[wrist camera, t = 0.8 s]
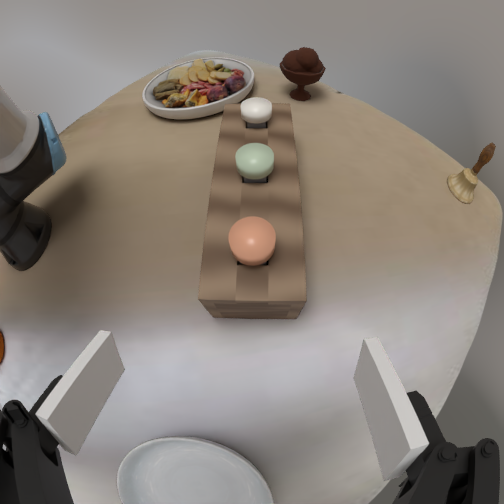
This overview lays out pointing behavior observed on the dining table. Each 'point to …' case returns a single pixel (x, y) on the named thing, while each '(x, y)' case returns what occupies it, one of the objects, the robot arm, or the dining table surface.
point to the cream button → (256, 112)
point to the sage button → (254, 162)
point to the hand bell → (469, 177)
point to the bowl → (198, 88)
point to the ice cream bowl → (302, 70)
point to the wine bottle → (1, 347)
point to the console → (259, 205)
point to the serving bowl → (189, 474)
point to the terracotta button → (252, 241)
